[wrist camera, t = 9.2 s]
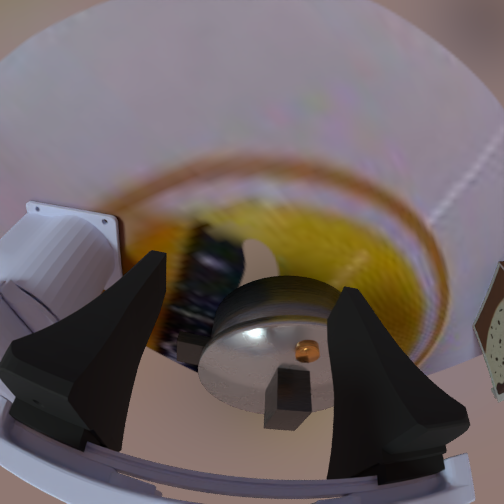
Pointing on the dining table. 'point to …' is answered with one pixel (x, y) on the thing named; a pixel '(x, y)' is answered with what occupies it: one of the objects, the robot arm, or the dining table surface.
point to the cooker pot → (262, 307)
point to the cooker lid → (271, 368)
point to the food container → (493, 331)
